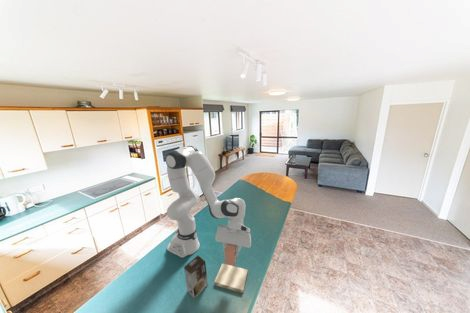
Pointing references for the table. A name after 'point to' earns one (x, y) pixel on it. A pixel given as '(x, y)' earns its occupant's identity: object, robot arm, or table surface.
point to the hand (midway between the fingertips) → (230, 254)
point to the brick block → (230, 254)
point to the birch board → (231, 277)
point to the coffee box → (196, 276)
